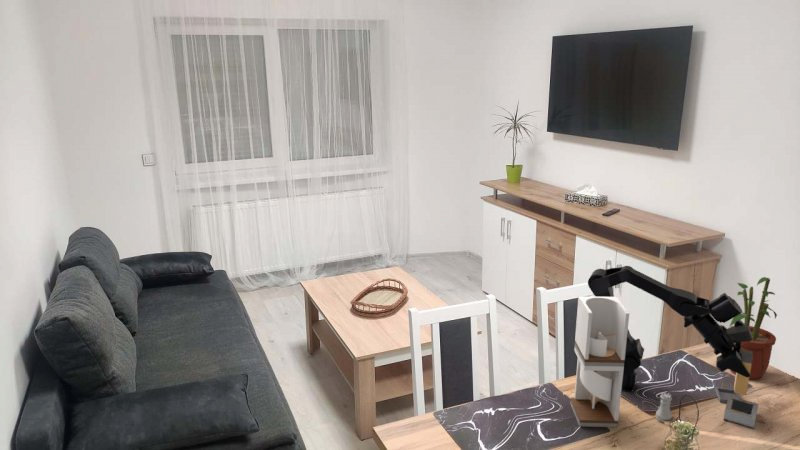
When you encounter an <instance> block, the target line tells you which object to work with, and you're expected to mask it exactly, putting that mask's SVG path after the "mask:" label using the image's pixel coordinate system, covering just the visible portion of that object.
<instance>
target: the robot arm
mask: <svg viewBox="0 0 800 450" xmlns="http://www.w3.org/2000/svg"><path fill="white" fill-rule="evenodd" d="M623 283H627V284H630V285H632V286H633V287H636V288H638V289H640V290H642V291H644V292H645V293H647V294H649V295H651V296H653V297H654V298H657V299H659V300H661V301H663V302H664V303H665V304H666V305H668V307H669V308H670V309H672V310H673V311H675V312H676V313H677V314H678V315H680V316H682V317H683V320H684V322H683V323H684V324H683V327H684V328H688V327H689V326H691V325H692V326H693V327H694V329H695V330H696V331H697V332H698V333H699V334H700V335H701V337H702V338H703V342H704V343H705V344H706V345H707V344H708V345H709V346H710V347H711V348H712V349H713V353H714V355H715V356H717V357H716V361H715V362H716V363H715V364H716V365H715V367H716V368H717V369H718V370H719V372H725V371H727V370H730V371H731V370H732V371H734V372H736V373H738V374H741V375H743V376H745V377H747V378H748V377H750V374H749V372H748V370H747V369H746V367H745V366H744V364H743V363H742V361H741V359H742V353H740V354H739V351H740V349H741V342H745V341H746V342H749V341H752V334H751V331H750V329H749V326H750V325H749V326H748V325H747V324H744V323H745V322H743V321H742V319H741V320H737V321H735V323H734V324H733V325H732V326H731V328H729V327H726V326H725V325H722V324H719V323H723V324H725V323H727V322H728V321H731V320H732V319H733V318H734V317H736V316H737V315H739V314H742V313H743V310H742V308H741V306H740V304H738V302H737V301H736V300H735V299H733V297H731V296H729V295H728V294H727V293H726V292H723V293H721V294H720V295H719V296H718V297H717V298H715V299H713V300H711V301H710V299H706V298H704V297H701V296H697V295H696V294H695V293H694V292H691V291H688V290H685V289H681V288H675V287H671V286H668V285H667V284H665V283H662V282H661V281H659V280H657V279H654V278H652V277H651V276H649V275H646V274H645V273H643V272H640V271H639V270H636V269H635V268H633V266H630V265H624V266H621V267H611V268H607V269H605V268H597V269H595V270H594V271H593V272H592V273H591V275H590V277H589V278H588V280H587V286H588V288H589V290H590V291H591V292H592V294H593V296H594V297H615V295H614V288H613V287H615V286H617V285H620V284H623ZM718 322H719V323H718ZM733 326H734V327H733ZM644 352H645V348H644V346H642V342H641V340H640V338H636V339H635V338H634V337H633V336H632V335H631V333H630V330H629V329H628V332H627V341H626V351H625V361H624V370H623V380H622V389H621V391H626V392H629V393H632V392H633V390H634V389H635V388H636V383H637V377H638V375H637V372H636V370H637V369H639V368H640V366H641V365H642V361H643V357H644ZM719 354H720V355H719ZM732 371H731V372H732Z"/></svg>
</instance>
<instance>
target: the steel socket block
mask: <svg viewBox="0 0 800 450" xmlns="http://www.w3.org/2000/svg"><path fill="white" fill-rule="evenodd" d="M759 405H760V404H759V403H757V402H752V401H749V400H745V399H742V398H741V399H739V398H735V397H732V396H729V399H728V402H727V403H726V405H725V409H724V415H723V421H725V422H729V423H730V424H735V425H738V426H741V427H744V428H748V429H751V430H754V429H755V425H756V421H757V416H758V411H759V410H758V409H759Z"/></svg>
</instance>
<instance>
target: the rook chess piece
mask: <svg viewBox="0 0 800 450" xmlns="http://www.w3.org/2000/svg"><path fill="white" fill-rule="evenodd" d="M659 399H660V401H659V402H660V405H659V408H658V409H657V410H656V412H655V415H654V417H655V419H656V420H657V422H661V423H663V424H664V423H665V421H669V420H671V419H672V418H673V414H672V412H671V405H672V403H671V401H673V397H672V394H671V393H669V392H668V393H667V392H666V391H665V392H662V393H661V394H660V395H659Z"/></svg>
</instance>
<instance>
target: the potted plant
mask: <svg viewBox="0 0 800 450" xmlns="http://www.w3.org/2000/svg"><path fill="white" fill-rule="evenodd" d="M770 281H771V279H770V277H765V276H763V277H761V278H759V279H758V281H757V283H756V286H759V285H760V284H762V283H764V282H765V283H764V285H763V286H764V287H763V290H761V292H762V293H761V298H760V303H759V307H758V312H757V315H756V319H754V318H753V317H755V315H754V314H752V310H753V309H752V307H753V306H754V305H755V304H756V303H755V301H754V300H753V299H754V287H753V286H750V287H749V286H748V285H747V284H745V283H741V282H740V283H739V282H737V283H736V284H737V285H738V286H739V287H740V288H741V289H743V290H742V291H738V292H737V297H738V296H742V298H743V305H744V307H743V308H744V312H742V313H741V314H739V315H737V316H736V317H734V318H732V319H731V320H730V321H731V322H730V324H729V326H728V328H731V326H733V327H734V323H735V321H737V320H741V321H742V320H743V319H744V322H743V323H744V324H747V325H748V326H749V329H750V331H751V334H752V341H749V342H746V341H745V342H741V350H746V351H752V355H753V360H752V364H751V370H750V377H749V380H759V379H760V378H761V377H762V376H764V375H765V374H766V372H767V370H768V367H769V364H770V362H771V361H770V360H771V355H772V350H773V346H774V345H775V344H776V342H777V338H776V336H775V335H774V334H773V333H771V332H770V331H768V330H766V329H764V328H761V326H762V323H763V320H764V317H765V315H766V316H768V317H769V318H772V317H771V315H770V312H769V311H768V310H770V311H772V313H773V315H774V319H776V318H777V316H778V314H777V312H776V311H775V310H773V309H772V308H770V307H769V306H770V304H769V303H767V302H769V301H770V300H769V299H768V300H766V298H768V296H769V294H770V295H775V296H776V293H775V292H772V291H768V289H769V285H770V283H771V282H770ZM747 288H749V292H748V291H747ZM747 292H748V293H749V294H747ZM755 320H756V321H755ZM751 321H753V322H754V325H752V326H751V325H750V323H751ZM730 372H732V373H733V374H734V375H735V376H736V372H734V371H732V370H730Z"/></svg>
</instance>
